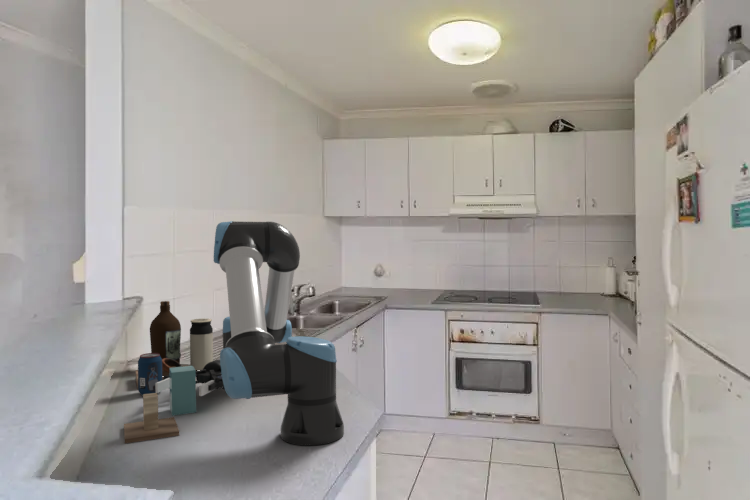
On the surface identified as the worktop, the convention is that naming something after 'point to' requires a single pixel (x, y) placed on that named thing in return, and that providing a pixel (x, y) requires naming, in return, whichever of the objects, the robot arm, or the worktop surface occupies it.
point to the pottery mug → (170, 362)
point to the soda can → (149, 372)
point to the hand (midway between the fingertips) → (178, 389)
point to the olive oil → (166, 334)
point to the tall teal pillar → (182, 390)
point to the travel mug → (201, 343)
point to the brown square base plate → (150, 423)
